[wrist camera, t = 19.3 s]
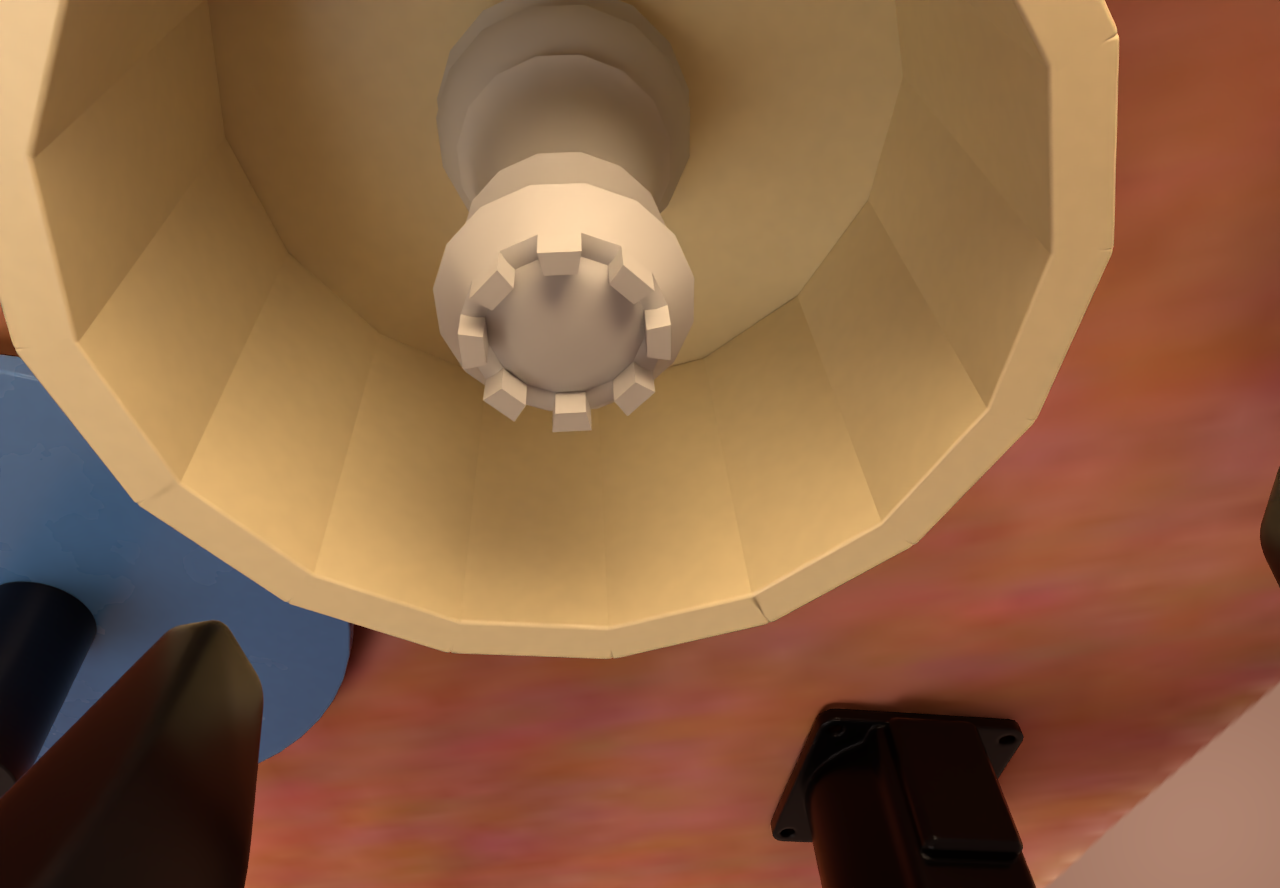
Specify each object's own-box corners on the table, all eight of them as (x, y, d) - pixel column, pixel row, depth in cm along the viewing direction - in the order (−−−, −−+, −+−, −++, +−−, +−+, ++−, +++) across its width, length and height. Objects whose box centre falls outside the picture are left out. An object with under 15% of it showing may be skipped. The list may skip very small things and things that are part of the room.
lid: (444, 695, 29) (422, 887, 24) (-10, 798, 30) (-109, 995, 26) (164, 252, 20) (48, 424, 15) (-453, 432, 22) (-721, 634, 17)
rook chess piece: (662, 239, 20) (709, 507, 14) (432, 206, 19) (367, 473, 13) (713, 1, 17) (799, 198, 11) (447, -46, 16) (376, 133, 10)
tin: (959, 309, 22) (1107, 548, 16) (375, 459, 23) (311, 729, 17) (890, -530, 14) (1140, -676, 8) (-3, -209, 15) (-366, -129, 9)
